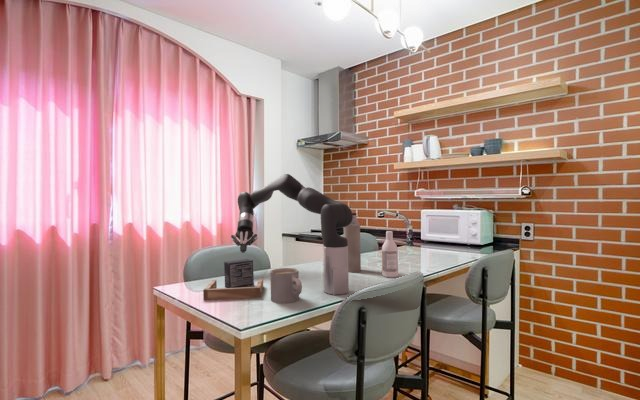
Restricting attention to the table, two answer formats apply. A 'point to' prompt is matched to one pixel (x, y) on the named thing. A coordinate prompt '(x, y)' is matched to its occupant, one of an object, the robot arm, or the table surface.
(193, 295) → the table surface
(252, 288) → the walnut tray
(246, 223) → the robot arm
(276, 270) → the coffee mug
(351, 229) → the thermos bottle
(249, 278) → the small box
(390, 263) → the bath foam
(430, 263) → the table surface
